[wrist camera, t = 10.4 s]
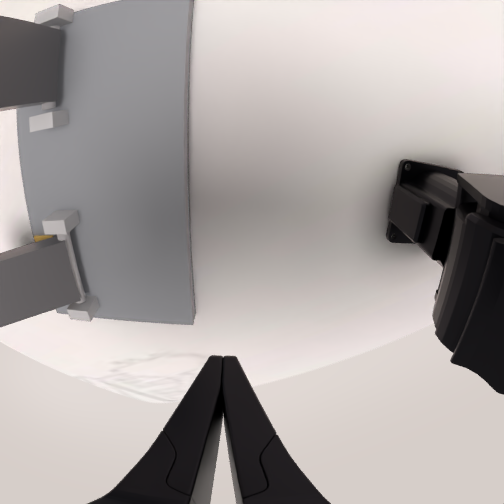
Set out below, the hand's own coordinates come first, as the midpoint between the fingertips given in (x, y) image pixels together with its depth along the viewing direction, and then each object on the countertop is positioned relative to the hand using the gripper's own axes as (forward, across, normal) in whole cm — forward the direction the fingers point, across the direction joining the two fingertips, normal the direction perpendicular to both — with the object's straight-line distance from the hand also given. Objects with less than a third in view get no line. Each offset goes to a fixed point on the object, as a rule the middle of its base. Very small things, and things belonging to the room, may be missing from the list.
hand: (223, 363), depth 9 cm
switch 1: (+10, +12, -12) cm, 20 cm away
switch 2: (+10, +12, +3) cm, 16 cm away
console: (+13, +10, -4) cm, 16 cm away
